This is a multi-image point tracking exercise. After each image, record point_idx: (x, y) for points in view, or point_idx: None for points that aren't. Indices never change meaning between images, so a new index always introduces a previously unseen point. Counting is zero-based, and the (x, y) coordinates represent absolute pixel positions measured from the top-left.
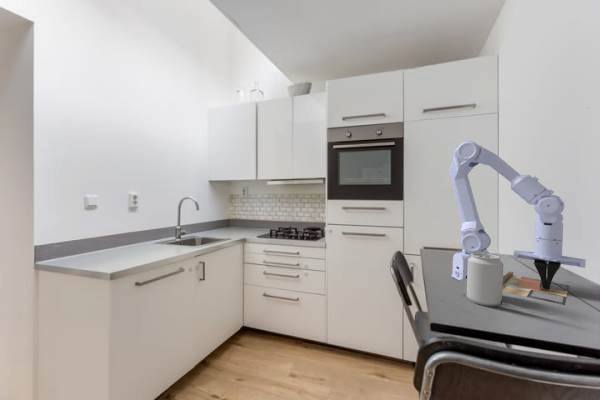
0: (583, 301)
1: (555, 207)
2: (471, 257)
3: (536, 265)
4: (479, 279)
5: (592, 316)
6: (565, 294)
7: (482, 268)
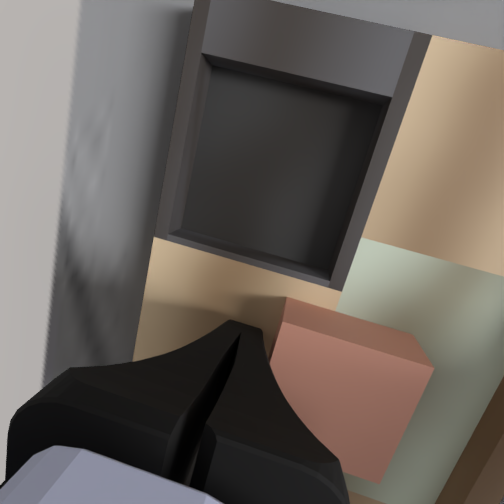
0: (88, 315)
1: None
2: None
3: (320, 453)
4: None
5: (86, 16)
6: (149, 297)
7: None
